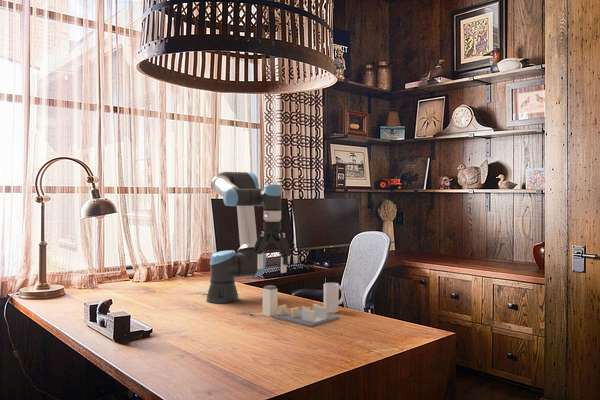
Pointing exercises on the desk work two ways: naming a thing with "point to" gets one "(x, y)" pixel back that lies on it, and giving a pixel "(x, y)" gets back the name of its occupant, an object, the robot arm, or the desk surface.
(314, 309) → the board
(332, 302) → the mug
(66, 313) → the desk surface
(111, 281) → the desk surface
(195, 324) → the desk surface
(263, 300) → the block
